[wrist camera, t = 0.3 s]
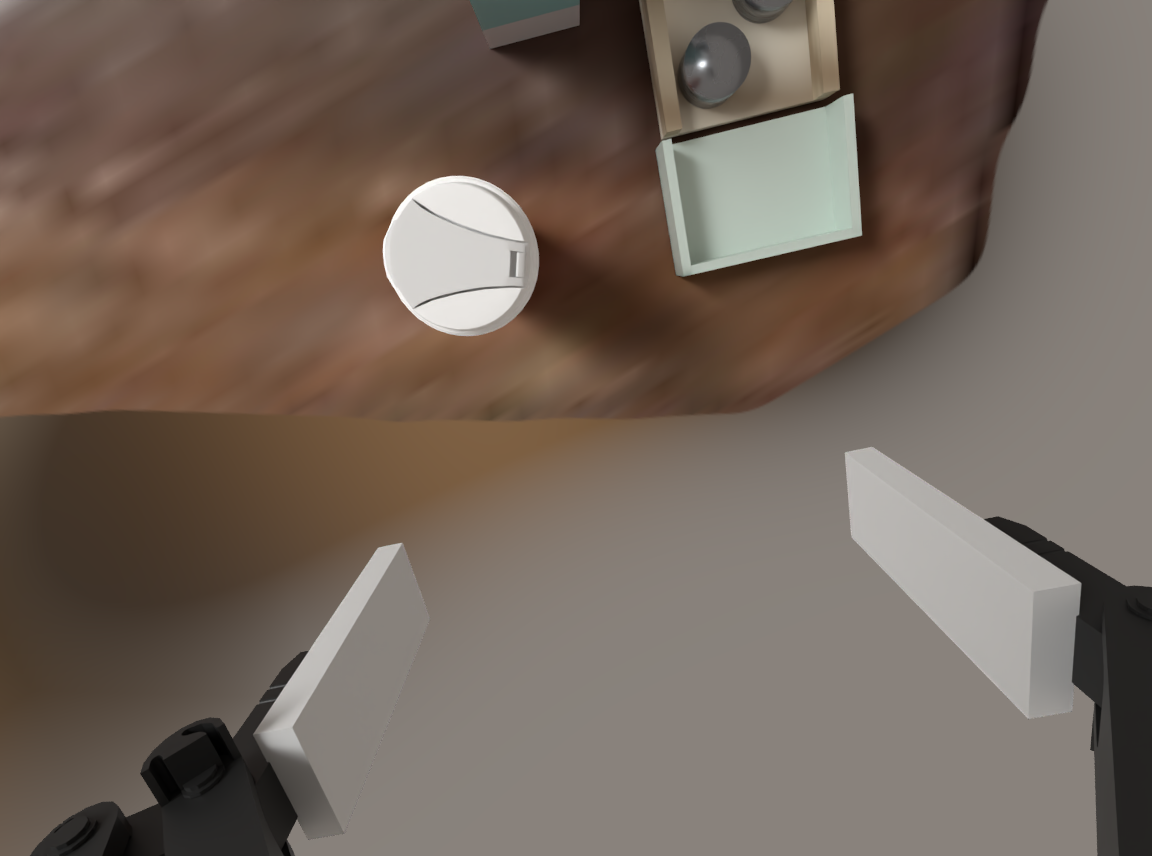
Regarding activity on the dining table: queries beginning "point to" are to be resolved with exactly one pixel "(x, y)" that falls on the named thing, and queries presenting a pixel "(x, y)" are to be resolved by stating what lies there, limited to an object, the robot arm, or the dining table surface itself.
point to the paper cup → (461, 255)
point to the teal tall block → (524, 18)
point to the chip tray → (762, 189)
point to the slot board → (778, 60)
